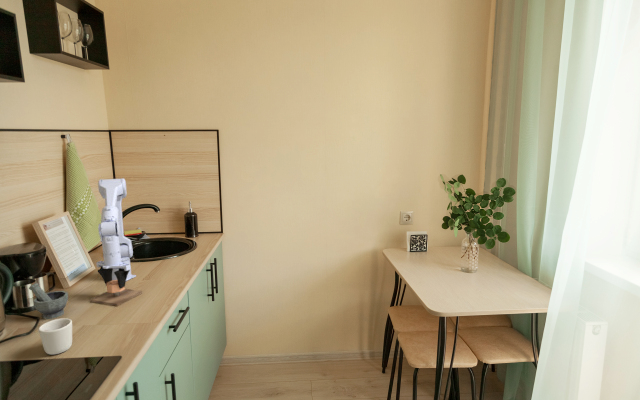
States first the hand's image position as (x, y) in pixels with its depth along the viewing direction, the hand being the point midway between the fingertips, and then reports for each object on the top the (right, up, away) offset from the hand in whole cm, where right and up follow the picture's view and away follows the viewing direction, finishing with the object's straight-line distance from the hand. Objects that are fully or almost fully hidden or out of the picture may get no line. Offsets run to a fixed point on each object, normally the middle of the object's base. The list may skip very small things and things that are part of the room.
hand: (115, 286), depth 144 cm
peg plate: (0, -5, +1) cm, 5 cm away
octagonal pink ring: (0, -1, 0) cm, 1 cm away
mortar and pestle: (-15, -7, -13) cm, 21 cm away
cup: (+2, -11, -33) cm, 35 cm away
